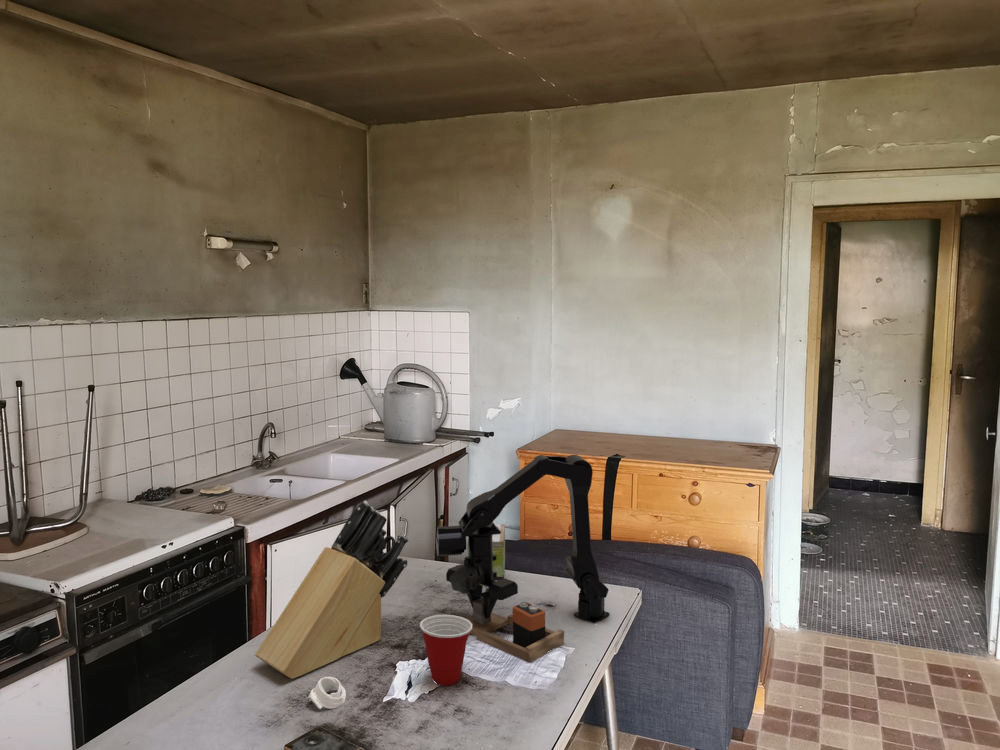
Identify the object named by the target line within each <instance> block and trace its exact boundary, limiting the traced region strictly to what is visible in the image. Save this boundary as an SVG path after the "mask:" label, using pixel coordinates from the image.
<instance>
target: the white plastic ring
mask: <svg viewBox="0 0 1000 750" xmlns="http://www.w3.org/2000/svg"><path fill="white" fill-rule="evenodd" d="M334 689H335V690H337V691H336V692H331V693H330V694H328V693H329V692H330V691H331V690H334ZM346 696H347V691H346V689H345V687H344V686H343V685H342V684H341V681H340V680H338V679H337V678H336V677H333V676H325V677H321V678H320V679H318V681H317V683H316V685H315V687H313V688H312V689H311V690H310V692H309V695H308V696H307V698H306V703H310V702H313V703H314V705H315V706H316V707H317V708H318V709H319V710H321V709H322V708H325V709H329V710H330V709H331V710H332V709H337V708H338V707H339V706H342V705H343V704H344V703H345V701H346Z"/></svg>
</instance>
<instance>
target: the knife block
mask: <svg viewBox="0 0 1000 750" xmlns="http://www.w3.org/2000/svg"><path fill="white" fill-rule="evenodd" d="M387 521H388V520H387V518H386V517H385V516H383V515H382V514H381V513H380V512H379V511H378V510H377V509H376V510H375V508H374V507H373V506H371V505H370V504H369V501H367V500H364V501H362V502H361V503H360V504H359V505H358V506H356V508H355V509H354V511H353V512H352V514H351V515H350V516H349V517H348V519H347V521H345V523H344V525H343V527H342V528H341V530H340V532H339V534H338V535H337V536H336V538H335V540H334V542H333V544H332V545H331V547H328V546H325V547H324V548H323V550H322V551H321V553H320V554H319V555H318V558H317V559H316V560H315V561H314V563H313V565H312V567H311V568H310V569H309V571H308V572H307V574H306V576H305V577H304V579H303V580H302V581H301V583H300V585H299V586H298V587H297V589H296V591H295V592H294V593H293V595H292V597H291V598H290V600H289V601H288V603H287V605H285V608H284V609H283V611H282V612H281V614H280V615H279V616H278V619H276V621H275V623H274V625H272V627H271V629H270V630H269V632H268V634H267V635H266V637H265V638H264V640H263V641H262V643H261V644H260V646H259V648H258V649H257V651H256V652H255V654H254V656H255V657H256V658H258V659H260V660H261V661H262V662H264V663H265V664H267V665H268V666H270V667H272V668H273V669H275V670H277V671H278V672H280V673H281V674H283V675H284V676H286V677H288V678H289V679H296V678H298V677H300V676H303V675H305V674H307V673H310V672H312V671H314V670H316V669H318V668H321V667H323V666H325V665H328V664H330V663H332V662H335V661H336V660H339V659H340V658H341V657H344V656H346V655H348V654H351V653H354V652H357V651H358V650H360V649H362V648H365V647H367V646H369V645H371V644H374V643H377V642H378V641H380V640H381V639H382V598H384V597H385V596H386V594H387V593H388V592H389V591H390V590H391V588H392V587H393V586H394V584H395V582H396V581H397V579H398V578H399V577H400V575H401V573H402V572H403V571H404V569H406V568H407V566H408V560H407V559H403V558H402V557H400V554H401V552H402V550H403V548H404V547H405V545H406V544H407V543H408V542H409V539H408V538H407V537H406V536H405V535H401V537H399V538H398V539H397V540H396V539H395V537H393V536H392V535H389V536H388V535H386V534H387V531H386V530H385V529H384V527H385V524H386V523H387ZM389 541H391V546H390V549H389V551H387V552H384V549H385V547H386V546H387V544H388V542H389ZM398 557H399V558H398Z"/></svg>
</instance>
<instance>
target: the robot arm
mask: <svg viewBox="0 0 1000 750" xmlns="http://www.w3.org/2000/svg"><path fill="white" fill-rule="evenodd" d="M545 476H553V477H557V478H561V479H564V481H565V484H566V487H567V489H568V490H567V491H568V494H569V502H570V503H569V504H570V505H569V506H570V519H571V520H570V521H571V534H572V552H571V555H566V556H565V560H566V565H567V566H566V570H565V571H566V573H567V574H568V575H569V577H570V578H571V579H572V581H573V582H574V584H575V585H576V586H577V588H578V589H579V592H578V600H577V601H578V603H577V606H578V607H577V611H576V612H574V613H573V617H576V618H578V619H581V620H584V621H587V622H590V623H593V624H596V623H598V622H600V621H602V620H603V619H605V618H607V617H610V612H608V611H605V599H606V598H607V595H608V594H609V588H608V587H607V586H606V585H605V583H604V582H603V581H602V580H601V578H600V575H599V571H598V567H597V564H596V561H595V558H594V555H593V552H592V540H591V528H590V527H591V525H590V507H589V493H590V489H591V487H592V480H593V467H592V465H591V464H590V463H589V461H587V460H586V459H584V458H583V457H582V456H581V455H578V454H570V455H568V456H560V455H545V454H539V455H537V456H535V458H534V459H533V460H531V461H530V462H529V463H527V464H526V465H525V466H524V467H522V468H521V469H520V470H519V471H517V472H516V473H514V474H513V475H512V476H510V477H509V478H507V480H505V481H503V482H502V483H501V484H500V485H499V486H497V487H496V488H494V489H492V490H490V491H486V492H483V493H481V494H479V495H476V496H475V497H472V498H471V499H470V500H469V501H468V503H467V504H466V511H465V512H464V513H463V515H462V517H461V518H460V520H459V521H458V524H457V525H450V526H448V525H447V526H446V525H445V526H444V525H439V526H437V529H436V530H437V531H436V537H435V544H436V546H435V547H436V548H435V549H436V554H437V557H446V556H457V555H459V556H460V555H462V554H463V553H465V551H467V546H468V552H469V556H467V555H466V556H465V557H464V560H463V563H461V564H458V565H455V566H452V567H450V568H448V570H447V571H446V573H445V575H446V576H445V577H446V578H445V579H446V580H445V581H446V582H449V583H450V584H451V588H452V590H453V591H456V592H459V593H461V594H464V595H465V594H466V595H467V597H468V599H469V602H470V606H471V609H473V601H475V600H477V599H480V598H483V601H484V615H485V618H486V619H487V618H489V617H490V615H491V613H493V610H494V607H495V605H496V603H497V602H498V601H504V600H506V599H508V598H510V597H513V596H515V595H517V594H518V593H519V589H518V588H519V586H518V583H517V582H515V581H514V580H511V579H507V578H506V577H504V578H503V579H501V580H499V581H497V580H496V581H493V578H494V577H497V572H494V571H493V561H495V560H496V555H493V540H492V535H496V534H501V531H500V529H499V528H498V527H497V526H496V525H495V524H496V523H495V522H494V521H495V520H496V519H497V517H498V516H500V514H501V513H502V511H504V508H505V507H506V506H507V505H508V504H509V503H510V502H511V501H513V500H514V499H516V498H517V497H518V496H519V495H520V494H522V493H523V492H525V491H527V490H528V489H529V488H530V487H531V486H532V485H534V484H535V483H537V482H538V481H539V480H540V479H542V478H543V477H545ZM483 586H484V587H486V589H485V592H483V593H482V589H483Z"/></svg>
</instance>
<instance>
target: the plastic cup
mask: <svg viewBox="0 0 1000 750" xmlns="http://www.w3.org/2000/svg"><path fill="white" fill-rule="evenodd" d="M419 629H420V630H421V632H422V636H423V641H424V645H425V651H426V657H427V663H428V666H429V669H430V675H431V679H433V680H434V681H435V682H436V683H437V684H436V683H435V684H436V685H438V686H442V687H443V686H447V687H448V686H452V685H456V684H458V682H459V681H460V679H461V677H462V669H463V665H464V660H465V654H466V653H465V652H466V648H467V642H468V638H469V636H470V631H471V630H472V623H471V622H470V621H469V620H467V619H466V618H465V617H463V616H457V615H453V614H436V615H431V616H427V617H425V618H424V619H422V620H421V621H420V623H419ZM433 680H432V681H433Z"/></svg>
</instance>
